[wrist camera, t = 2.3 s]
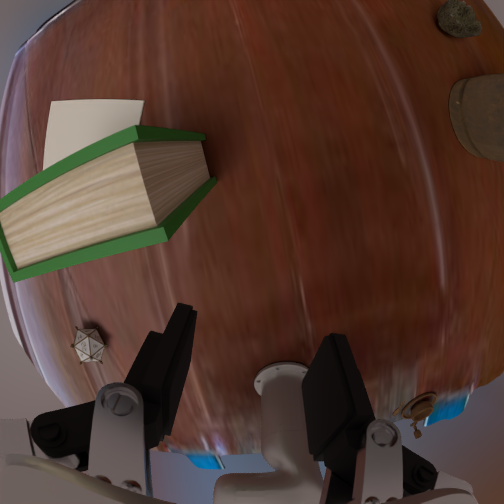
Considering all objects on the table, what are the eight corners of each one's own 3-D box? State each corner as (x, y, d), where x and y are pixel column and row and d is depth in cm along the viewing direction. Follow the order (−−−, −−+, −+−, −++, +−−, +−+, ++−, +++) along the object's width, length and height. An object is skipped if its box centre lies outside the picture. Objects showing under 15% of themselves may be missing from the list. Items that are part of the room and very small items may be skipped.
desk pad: (144, 101, 34) (143, 100, 33) (126, 236, 42) (125, 237, 42) (53, 101, 33) (51, 101, 32) (43, 215, 41) (42, 216, 41)
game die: (96, 320, 54) (61, 319, 45) (119, 330, 51) (82, 332, 42) (94, 355, 53) (60, 358, 44) (116, 369, 50) (80, 374, 41)
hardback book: (204, 133, 36) (135, 124, 13) (216, 182, 38) (168, 241, 16) (101, 169, 37) (-14, 209, 15) (114, 212, 40) (13, 282, 18)
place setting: (447, 387, 58) (455, 400, 52) (415, 425, 65) (420, 437, 60) (406, 392, 57) (413, 408, 52) (374, 431, 65) (378, 446, 59)
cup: (462, 45, 26) (488, 37, 18) (436, 43, 27) (462, 32, 19) (447, 12, 23) (470, 0, 16) (420, 8, 24) (442, -7, 17)
